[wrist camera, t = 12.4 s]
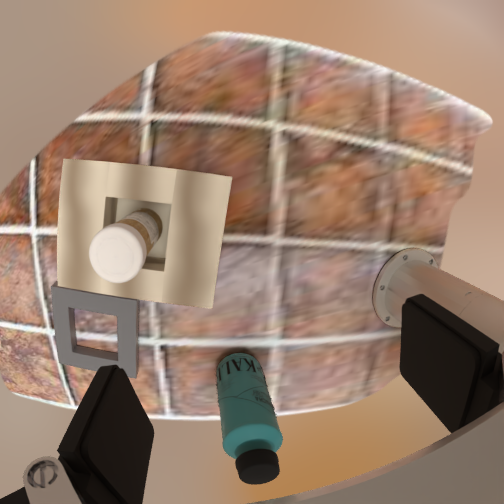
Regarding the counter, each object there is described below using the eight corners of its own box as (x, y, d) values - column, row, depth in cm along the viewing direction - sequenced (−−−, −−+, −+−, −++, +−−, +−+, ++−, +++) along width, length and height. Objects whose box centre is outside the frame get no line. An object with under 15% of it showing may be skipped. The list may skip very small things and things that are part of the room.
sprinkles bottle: (137, 251, 36) (105, 293, 23) (119, 217, 34) (77, 243, 21) (170, 235, 36) (153, 270, 23) (153, 200, 34) (125, 216, 21)
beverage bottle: (246, 387, 44) (273, 496, 25) (206, 373, 42) (213, 487, 23) (268, 354, 43) (309, 462, 24) (226, 338, 41) (245, 451, 22)
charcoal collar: (139, 294, 38) (136, 300, 36) (138, 370, 40) (136, 378, 39) (57, 281, 36) (51, 286, 34) (63, 355, 38) (59, 362, 36)
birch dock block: (227, 176, 36) (232, 176, 30) (210, 289, 39) (212, 308, 33) (83, 160, 33) (63, 158, 27) (76, 270, 36) (57, 285, 30)
